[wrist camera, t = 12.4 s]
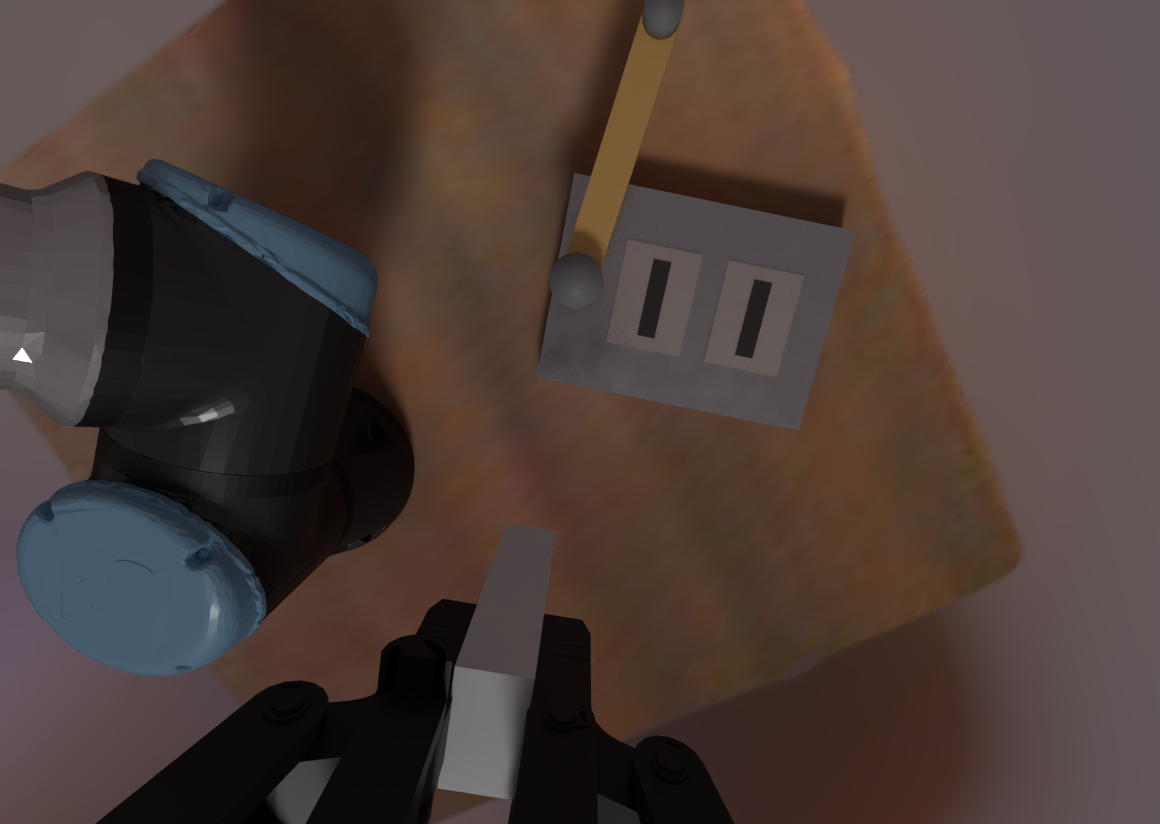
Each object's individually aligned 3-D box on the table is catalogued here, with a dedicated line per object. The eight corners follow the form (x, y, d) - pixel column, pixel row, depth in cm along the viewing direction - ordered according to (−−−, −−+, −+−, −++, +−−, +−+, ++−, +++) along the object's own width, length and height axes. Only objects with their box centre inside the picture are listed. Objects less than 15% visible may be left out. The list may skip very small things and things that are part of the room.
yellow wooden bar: (593, 313, 41) (593, 315, 37) (548, 298, 41) (542, 298, 37) (687, 30, 37) (699, -7, 33) (637, 13, 37) (642, -27, 33)
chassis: (539, 373, 47) (533, 381, 43) (575, 179, 44) (573, 166, 40) (788, 423, 48) (808, 436, 43) (841, 235, 44) (869, 227, 40)
